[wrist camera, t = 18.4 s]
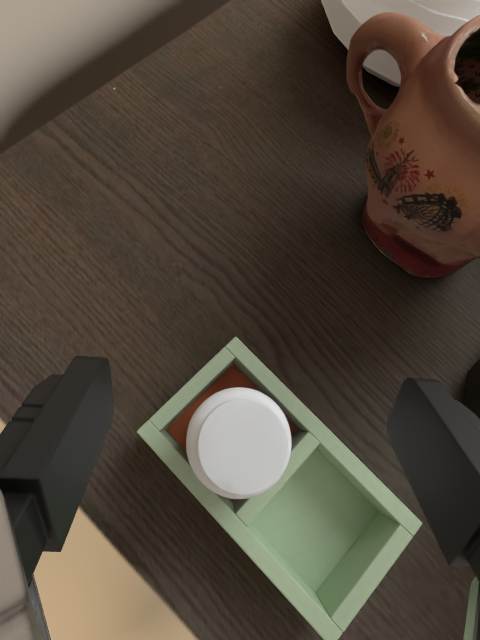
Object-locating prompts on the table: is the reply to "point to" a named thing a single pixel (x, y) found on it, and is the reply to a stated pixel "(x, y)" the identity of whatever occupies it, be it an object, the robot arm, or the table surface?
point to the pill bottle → (238, 443)
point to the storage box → (295, 500)
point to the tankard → (473, 390)
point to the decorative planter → (422, 144)
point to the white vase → (419, 3)
